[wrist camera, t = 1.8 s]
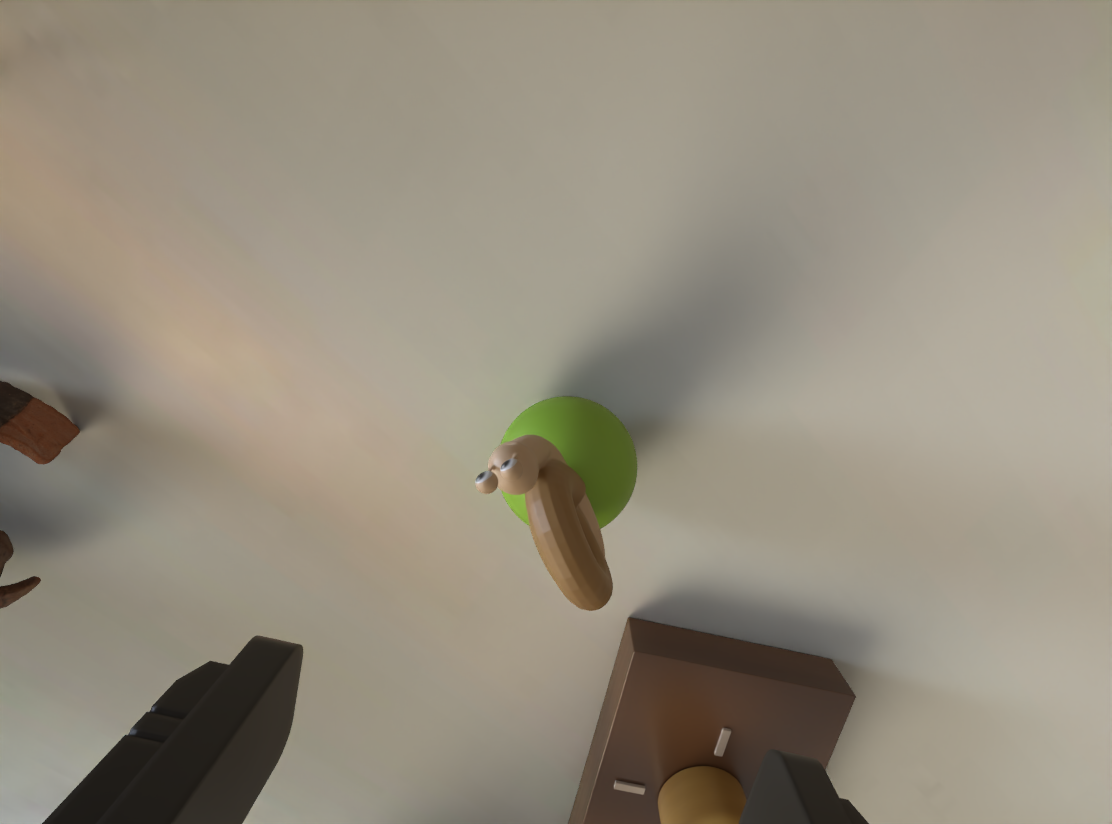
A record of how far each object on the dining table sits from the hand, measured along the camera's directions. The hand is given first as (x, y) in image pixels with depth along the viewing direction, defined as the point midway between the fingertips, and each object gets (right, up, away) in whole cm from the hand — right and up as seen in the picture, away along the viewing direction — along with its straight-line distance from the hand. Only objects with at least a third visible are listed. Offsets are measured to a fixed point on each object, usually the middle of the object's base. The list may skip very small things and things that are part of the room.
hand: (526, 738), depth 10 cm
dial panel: (+7, -12, +20) cm, 24 cm away
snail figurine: (+1, +5, +16) cm, 17 cm away
